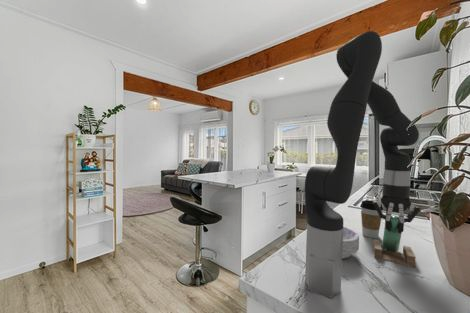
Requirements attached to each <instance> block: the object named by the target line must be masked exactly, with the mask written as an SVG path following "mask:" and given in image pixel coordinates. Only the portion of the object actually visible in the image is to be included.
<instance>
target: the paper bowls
mask: <svg viewBox="0 0 470 313" xmlns="http://www.w3.org/2000/svg"><path fill="white" fill-rule="evenodd" d="M359 248H360V236H359V234H358V232H356V231H355V230H354V229H351V228H349V227H345V226H343V244H342V260H343V259H348V258H349V257H351V256H352V254H356V253H358V252H359Z"/></svg>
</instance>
